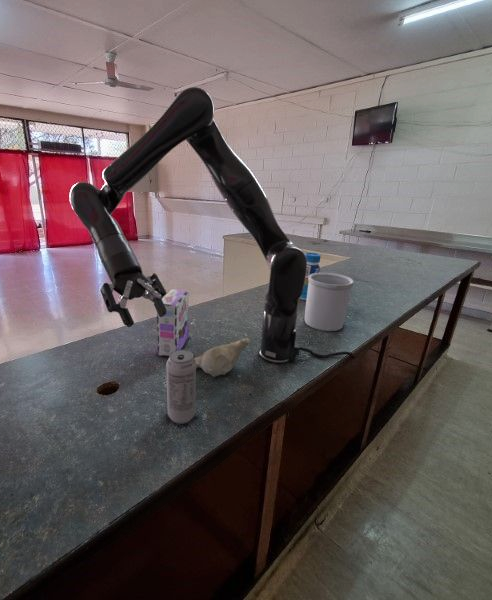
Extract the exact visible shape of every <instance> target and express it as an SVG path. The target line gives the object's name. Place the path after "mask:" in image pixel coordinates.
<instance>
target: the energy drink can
mask: <svg viewBox="0 0 492 600" xmlns="http://www.w3.org/2000/svg"><path fill="white" fill-rule="evenodd" d="M194 358H195V357H194V353H192V352H191V351H190V350H186V349H181V350H176V351H173V352H172V353H170V355H169V357H168V359H167V360H166V363H165V364H166V401H167V402H166V403H167V404H166V406H167V416H168V417H169V419H170V420H171V421H172V422H174V423H176V424H180V425H181V424H185V423H186V424H187V423H189V422H190V421H191V420H192V419H193V418H194V417H195V415H196V398H197V397H196V395H197V394H196V391H197V390H196V389H197V368H196V361H195V359H194Z"/></svg>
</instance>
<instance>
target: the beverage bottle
mask: <svg viewBox="0 0 492 600" xmlns="http://www.w3.org/2000/svg"><path fill="white" fill-rule="evenodd" d="M304 254H305V256H306V259H307V269H306V276H305V282H304V287H303V292H302V295H301V297H300V299H299V300H303V301H306V300H307V292H308V284H309V280H308V278H309V275H310V274H313V273H321V267H320V265H319V263H320V262H321V254H320V253H317V252H305V253H304Z"/></svg>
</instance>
